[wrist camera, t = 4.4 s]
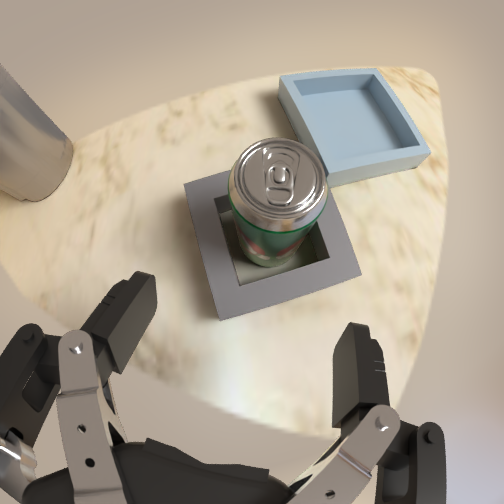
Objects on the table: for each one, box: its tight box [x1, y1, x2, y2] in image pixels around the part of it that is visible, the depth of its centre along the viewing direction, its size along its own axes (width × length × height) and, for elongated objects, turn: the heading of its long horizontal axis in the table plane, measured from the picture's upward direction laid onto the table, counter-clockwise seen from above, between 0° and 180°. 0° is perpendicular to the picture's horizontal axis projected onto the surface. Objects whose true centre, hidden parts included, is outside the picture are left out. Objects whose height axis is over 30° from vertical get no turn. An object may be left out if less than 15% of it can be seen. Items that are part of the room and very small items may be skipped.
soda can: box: [228, 138, 328, 267], centre depth 18 cm, size 5×5×12 cm
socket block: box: [184, 150, 362, 321], centre depth 23 cm, size 11×11×4 cm
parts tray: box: [278, 68, 431, 188], centre depth 25 cm, size 12×12×4 cm
